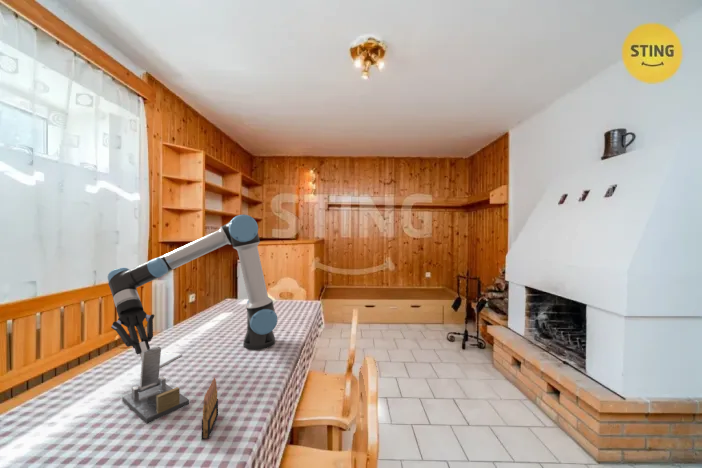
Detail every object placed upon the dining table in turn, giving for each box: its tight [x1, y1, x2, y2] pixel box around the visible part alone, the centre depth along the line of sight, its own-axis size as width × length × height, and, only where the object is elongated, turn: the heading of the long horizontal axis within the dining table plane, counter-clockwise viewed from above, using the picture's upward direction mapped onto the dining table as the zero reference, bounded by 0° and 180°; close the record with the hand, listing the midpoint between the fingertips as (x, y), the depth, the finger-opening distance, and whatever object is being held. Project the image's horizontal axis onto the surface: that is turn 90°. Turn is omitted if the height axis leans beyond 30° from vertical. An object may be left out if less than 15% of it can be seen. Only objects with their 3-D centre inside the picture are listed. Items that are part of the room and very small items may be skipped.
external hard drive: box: [160, 352, 182, 368], centre depth 127 cm, size 2×8×12 cm
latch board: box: [121, 376, 190, 425], centre depth 95 cm, size 20×12×6 cm, turn 55°
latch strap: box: [137, 346, 162, 393], centre depth 98 cm, size 2×6×14 cm, turn 145°
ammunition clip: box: [201, 377, 219, 440], centre depth 84 cm, size 11×2×12 cm, turn 12°
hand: (146, 360), depth 99 cm, fingers closed
